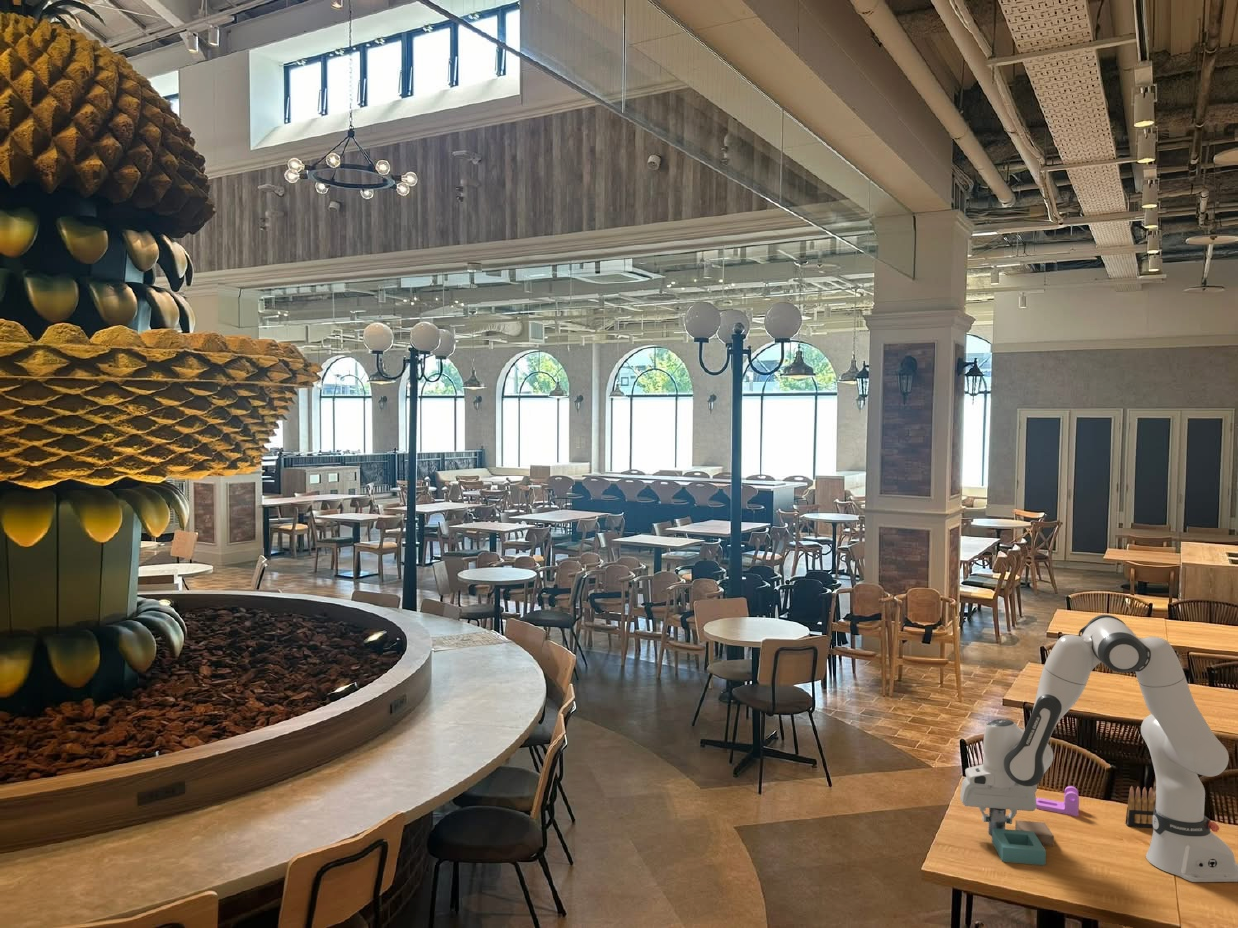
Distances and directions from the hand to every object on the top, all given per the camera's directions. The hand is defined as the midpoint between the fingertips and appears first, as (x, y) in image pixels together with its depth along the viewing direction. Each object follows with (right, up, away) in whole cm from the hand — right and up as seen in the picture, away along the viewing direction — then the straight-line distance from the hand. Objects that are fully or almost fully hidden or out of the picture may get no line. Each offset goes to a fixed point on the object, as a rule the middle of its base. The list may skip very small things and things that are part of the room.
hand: (997, 821), depth 254 cm
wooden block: (+10, -4, -2) cm, 11 cm away
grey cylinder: (0, -4, 0) cm, 4 cm away
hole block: (+1, -4, -11) cm, 11 cm away
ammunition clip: (+47, -4, +6) cm, 47 cm away
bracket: (+25, -3, +17) cm, 31 cm away
